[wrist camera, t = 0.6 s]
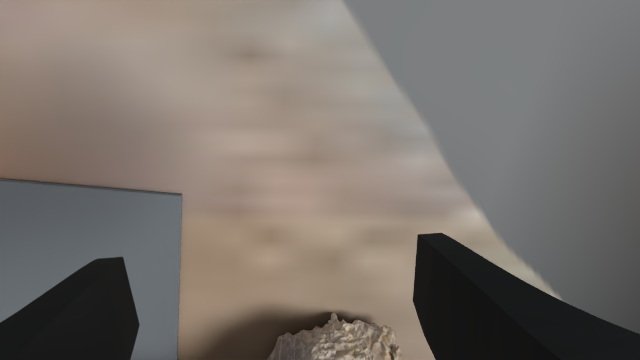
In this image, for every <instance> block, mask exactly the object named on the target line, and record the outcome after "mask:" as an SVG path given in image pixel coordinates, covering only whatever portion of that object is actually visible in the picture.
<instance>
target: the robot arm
mask: <svg viewBox="0 0 640 360" xmlns="http://www.w3.org/2000/svg"><path fill="white" fill-rule="evenodd" d="M413 302H414V306H415V309H416V312H417V315H418V318H419V321H420V324H421V327H422V330H423V333H424V336H425V338H426V340H427V342H428V344H429V346H430V349H431V351H432V353H433V355H434V357H435V359H436V360H640V334H638V333H635V332H632V331H630V330H627V329H625V328H622V327H620V326H617V325H615V324H612V323H610V322H607V321H605V320H603V319H600V318H598V317H596V316H593V315H591V314H589V313H587V312H585V311H582V310H580V309H578V308H576V307H574V306H571V305H569V304H567V303H565V302H563V301H561V300H559V299H557V298H555V297H553V296H551V295H549V294H547V293H545V292H543V291H541V290H539V289H538V288H536V287H534V286H532V285H530V284H528V283H526V282H524V281H523V280H521V279H519V278H517V277H516V276H514V275H512V274H510V273H509V272H507V271H505V270H503V269H502V268H500V267H498V266H497V265H495V264H493V263H492V262H490V261H488V260H487V259H485V258H483V257H482V256H480V255H479V254H477V253H475V252H474V251H472V250H470V249H469V248H467V247H465V246H464V245H462V244H461V243H459V242H457V241H456V240H454V239H452V238H450V237H449V236H447V235H445V234H443V233H433V234H419V235H418V239H417V253H416V266H415V280H414V293H413ZM139 325H140V324H139V320H138V316H137V312H136V308H135V304H134V299H133V295H132V291H131V287H130V283H129V279H128V275H127V271H126V267H125V263H124V259H123V257H113V258H99V259H95V260H93V261H92V262H90V263H88V264H87V265H85V266H83V267H82V268H80V269H79V270H77V271H76V272H74V273H73V274H71V275H70V276H68V277H67V278H66V279H64V280H63V281H61V282H60V283H58V284H57V285H55V286H54V287H53V288H51V289H50V290H48V291H47V292H45V293H44V294H42V295H41V296H39V297H38V298H37V299H35V300H34V301H32V302H31V303H29V304H28V305H26V306H25V307H23V308H22V309H21V310H19V311H18V312H16V313H15V314H13V315H11V316H10V317H8V318H7V319H5V320H4V321H2V322H1V323H0V360H131V356H132V353H133V349H134V345H135V341H136V337H137V333H138V329H139Z"/></svg>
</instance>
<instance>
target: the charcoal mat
mask: <svg viewBox="0 0 640 360" xmlns="http://www.w3.org/2000/svg"><path fill="white" fill-rule="evenodd" d="M181 220H182V194H175V193H164V192H152V191H140V190H128V189H117V188H105V187H93V186H81V185H69V184H58V183H46V182H34V181H22V180H11V179H0V323H1V322H2V321H4V320H5V319H7V318H8V317H10V316H11V315H13V314H15V313H16V312H18V311H19V310H21V309H22V308H23V307H25V306H26V305H28V304H29V303H31V302H32V301H34V300H35V299H37V298H38V297H39V296H41V295H42V294H44V293H45V292H47V291H48V290H50V289H51V288H53V287H54V286H55V285H57V284H58V283H60V282H61V281H63V280H64V279H66V278H67V277H68V276H70V275H71V274H73V273H74V272H76V271H77V270H79V269H80V268H82V267H83V266H85V265H87V264H88V263H90V262H92V261H93V260H95V259H99V258H113V257H123V259H124V263H125V267H126V271H127V275H128V279H129V283H130V287H131V291H132V295H133V299H134V304H135V308H136V312H137V316H138V320H139V324H140V325H139V329H138V333H137V337H136V341H135V345H134V349H133V353H132V356H131V360H177V358H178V323H179V289H180V254H181Z"/></svg>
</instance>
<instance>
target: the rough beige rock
mask: <svg viewBox="0 0 640 360" xmlns="http://www.w3.org/2000/svg"><path fill="white" fill-rule="evenodd" d="M395 339H396V335H395V331H394V330H392V329H391V327H390V328H388V327H387V326H385V325H384V326H383V327H378V326H377V325H376V324H375V323H370V324H367V323H365V322H362V321H361V320H355V321H353V322H352V324H350V323H347V322H345V321H344V320H342V322H339V320H338V319H337V315H336V314H335V313H332V314H331V320H329V321H328V324H325V325H324V327H322V328H320V327H319V326H315V328H313V330H310V331H309V330H307V331H306V330H301V331H300V332H299V333H296V334H295V335H292V334H290V333H289V332H287V333H286V334H285V335H281V336H279V338H278V340H277V343H276V346H275V348H274V350H273V352H272V353H271V355H270V356H269V357H268V359H267V360H402V355H401V354H399V353H400V349H399V346H397V345H396V341H395Z"/></svg>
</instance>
